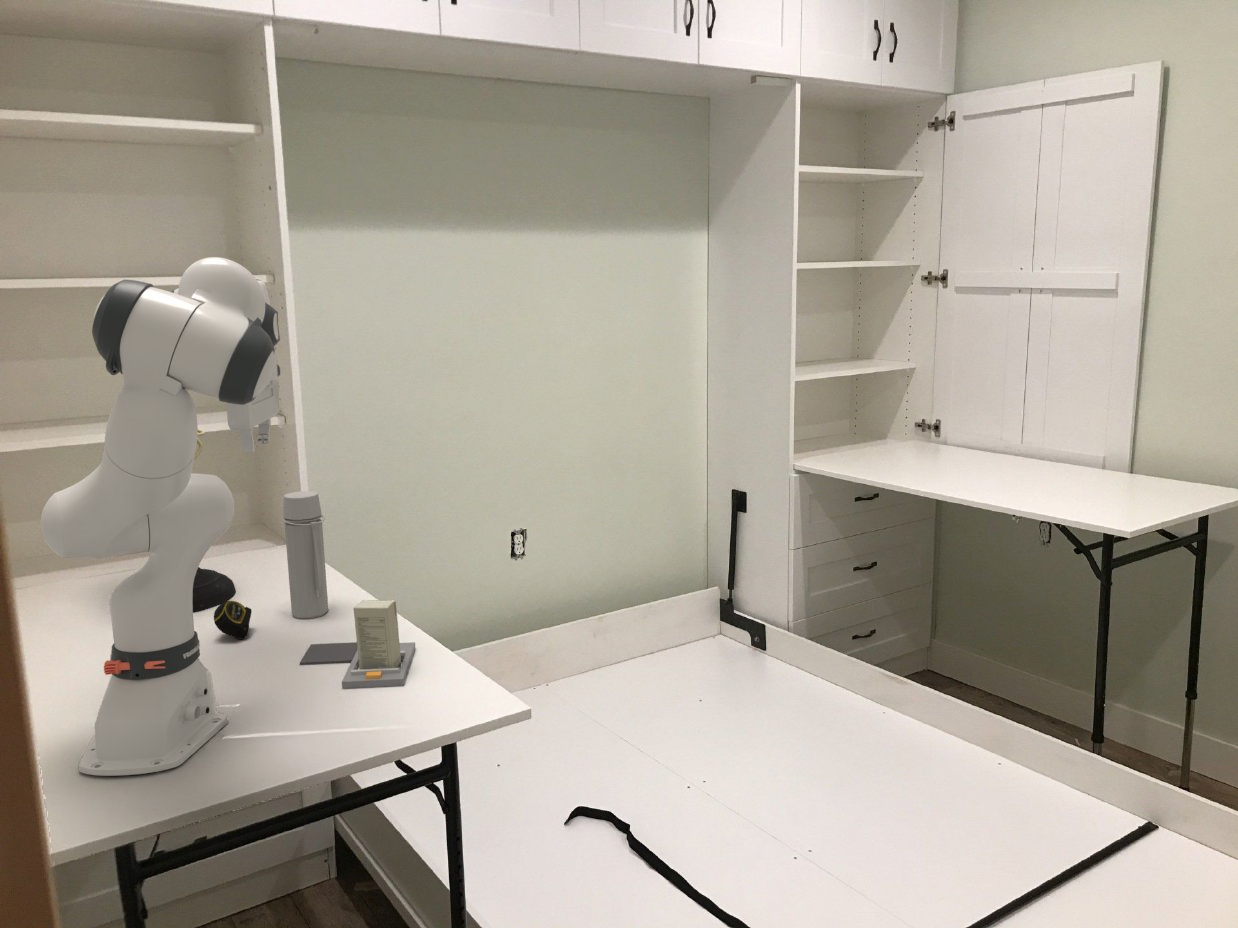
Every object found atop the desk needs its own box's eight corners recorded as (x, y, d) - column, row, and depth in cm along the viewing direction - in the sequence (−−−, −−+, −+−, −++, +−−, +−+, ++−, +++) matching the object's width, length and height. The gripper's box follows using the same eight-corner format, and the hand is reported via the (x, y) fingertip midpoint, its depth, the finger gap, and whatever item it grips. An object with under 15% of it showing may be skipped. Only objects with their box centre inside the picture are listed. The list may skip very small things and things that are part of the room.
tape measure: (239, 645, 186) (251, 633, 185) (206, 629, 183) (218, 617, 182) (244, 619, 192) (255, 608, 191) (213, 604, 188) (224, 592, 187)
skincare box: (402, 666, 172) (398, 599, 169) (393, 676, 167) (389, 607, 165) (366, 665, 172) (362, 598, 170) (357, 674, 168) (352, 606, 166)
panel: (403, 685, 163) (402, 675, 163) (342, 688, 162) (341, 678, 162) (415, 648, 180) (414, 639, 180) (359, 650, 179) (359, 641, 179)
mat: (351, 662, 174) (351, 660, 174) (299, 664, 173) (299, 662, 173) (360, 644, 182) (360, 641, 182) (311, 646, 182) (310, 644, 182)
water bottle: (283, 615, 199) (273, 495, 195) (319, 606, 205) (310, 488, 200) (305, 625, 193) (295, 501, 188) (341, 616, 198) (333, 495, 194)
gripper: (252, 376, 164) (259, 457, 167) (282, 366, 184) (288, 438, 187) (213, 377, 164) (221, 458, 166) (248, 366, 184) (254, 439, 186)
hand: (257, 447), depth 177 cm, fingers open, 8 cm apart
